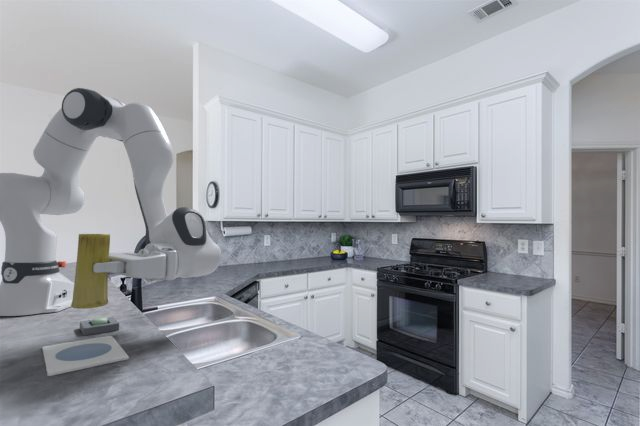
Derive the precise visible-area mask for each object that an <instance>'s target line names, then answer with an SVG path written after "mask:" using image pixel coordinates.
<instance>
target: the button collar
mask: <svg viewBox="0 0 640 426" xmlns="http://www.w3.org/2000/svg"><path fill="white" fill-rule="evenodd" d="M107 318H108V320H107V324H100V325H93V326H91V325H92V319H90V320H82V321H79V330H80V331H81V334H82V335H83V336H88V335H95V334H101V333H107V332H115V331H119V330H120V322H119V321H117V319H115V318H114V317H113V316H112V317H107Z"/></svg>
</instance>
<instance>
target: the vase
mask: <svg viewBox="0 0 640 426" xmlns="http://www.w3.org/2000/svg"><path fill="white" fill-rule="evenodd" d="M77 239H78V242H77V243H78V244H77V252H76V253H77V254H76V255H77V256H76V265H75V273H74V282H73V283H74V290H73V299H72V304H71V307H70V308H73V309H78V310H79V309H93V308H99V307H104V306H107V305H108V304H109V297H108V293H109V292H108V289H109V287H108V286H109V285H108V283H109V282H108V281H109V280H108V279H109V272H100V273H95V272H93V271H92V264H93V263H107V262H109V253H110V248H111V247H110V245H111V243H110V242H111V234H109V233H79V234H78V238H77Z"/></svg>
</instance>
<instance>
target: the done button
mask: <svg viewBox="0 0 640 426" xmlns="http://www.w3.org/2000/svg"><path fill="white" fill-rule="evenodd" d="M108 318H109V317H105V316H104V317H102V316H101V317H94V318H92V319H91V320H92V325H91V326H93V325H100V324H107V320H108Z"/></svg>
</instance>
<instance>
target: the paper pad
mask: <svg viewBox="0 0 640 426" xmlns="http://www.w3.org/2000/svg"><path fill="white" fill-rule="evenodd" d="M41 350H42V354H43V360H44V364H45V370H46V375H47V377H52V376H56V375H60V374H66V373H70V372H75V371H79V370H86V369H88V368H89V369H90V368H93V367H94V368H95V367H97V366H99V367H100V366H103V365H107V364H112V363H113V364H114V363H116V362H121V361H126V360H129V359H130V356H129V355H128V353H126V351H125V350H124V349H123V348H122V347H121V345H120V344H119V342H118V341H117V340H116V339H115V338H114V337H113V335H105V336H100V337H94V338H89V339H88V338H87V339H82V340H81V339H80V340H75V341H71V342H63V343H58V344H51V345H45V346H42V349H41Z"/></svg>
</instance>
